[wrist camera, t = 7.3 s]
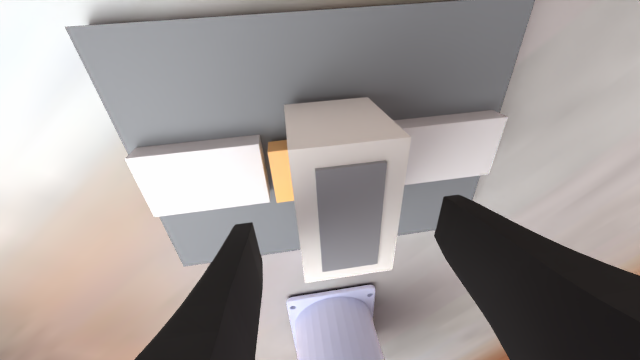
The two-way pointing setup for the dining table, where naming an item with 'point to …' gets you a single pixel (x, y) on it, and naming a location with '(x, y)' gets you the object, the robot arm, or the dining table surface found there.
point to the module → (346, 185)
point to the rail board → (299, 87)
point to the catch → (280, 170)
